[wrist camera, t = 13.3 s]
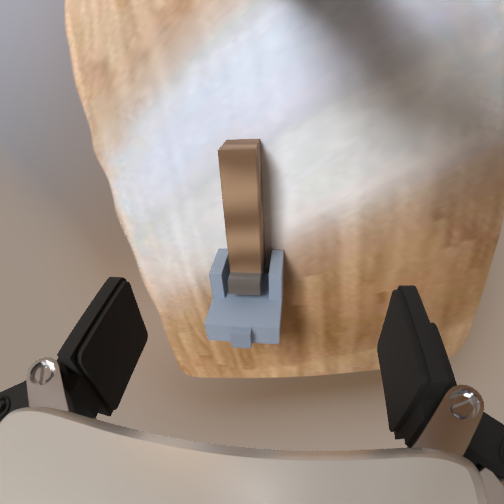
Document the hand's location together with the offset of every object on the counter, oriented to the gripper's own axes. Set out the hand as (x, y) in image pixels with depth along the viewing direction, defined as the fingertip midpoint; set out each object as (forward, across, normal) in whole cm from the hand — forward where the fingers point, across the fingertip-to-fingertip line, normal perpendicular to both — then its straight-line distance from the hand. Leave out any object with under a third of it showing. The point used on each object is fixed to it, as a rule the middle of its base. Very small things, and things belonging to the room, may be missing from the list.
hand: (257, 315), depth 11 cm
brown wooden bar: (+30, +5, +9) cm, 32 cm away
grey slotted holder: (+30, +5, +19) cm, 36 cm away
